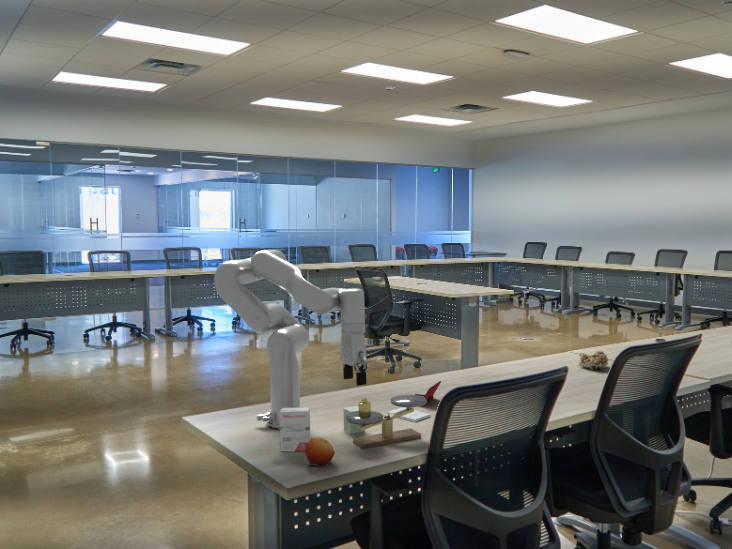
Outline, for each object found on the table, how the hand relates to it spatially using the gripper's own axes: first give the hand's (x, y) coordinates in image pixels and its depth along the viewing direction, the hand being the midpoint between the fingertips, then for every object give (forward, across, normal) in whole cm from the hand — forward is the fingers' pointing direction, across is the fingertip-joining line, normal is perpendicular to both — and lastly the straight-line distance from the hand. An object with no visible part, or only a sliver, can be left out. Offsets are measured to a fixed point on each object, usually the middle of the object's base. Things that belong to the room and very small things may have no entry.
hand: (354, 381), depth 191 cm
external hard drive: (+17, -6, +22) cm, 29 cm away
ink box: (+16, +6, -22) cm, 28 cm away
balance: (+16, +12, +4) cm, 21 cm away
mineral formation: (+17, -27, +131) cm, 135 cm away
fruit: (+16, +20, -20) cm, 33 cm away
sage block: (+16, 0, 0) cm, 16 cm away
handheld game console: (+16, -18, +36) cm, 43 cm away
